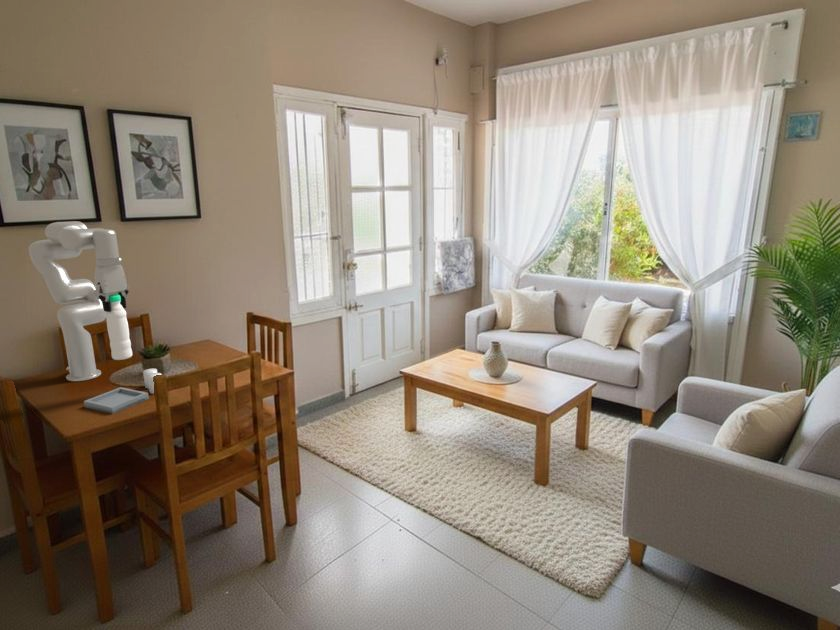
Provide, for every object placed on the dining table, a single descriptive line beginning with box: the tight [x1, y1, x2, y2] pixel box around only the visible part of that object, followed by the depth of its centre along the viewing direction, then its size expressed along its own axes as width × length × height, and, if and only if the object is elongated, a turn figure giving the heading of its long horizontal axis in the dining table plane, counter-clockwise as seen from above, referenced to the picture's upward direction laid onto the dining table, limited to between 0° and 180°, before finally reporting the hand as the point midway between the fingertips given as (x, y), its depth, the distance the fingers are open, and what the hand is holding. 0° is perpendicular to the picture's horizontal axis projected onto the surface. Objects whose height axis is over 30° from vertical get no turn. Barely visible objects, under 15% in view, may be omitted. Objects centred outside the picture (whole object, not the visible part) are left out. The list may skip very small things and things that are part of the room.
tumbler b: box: [142, 367, 158, 390], centre depth 208 cm, size 5×5×7 cm
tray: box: [83, 386, 150, 415], centre depth 193 cm, size 15×15×2 cm
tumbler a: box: [147, 372, 163, 395], centre depth 203 cm, size 5×5×7 cm
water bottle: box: [105, 294, 133, 361], centre depth 198 cm, size 7×7×25 cm
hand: (115, 309), depth 196 cm, fingers closed on water bottle, 5 cm apart
